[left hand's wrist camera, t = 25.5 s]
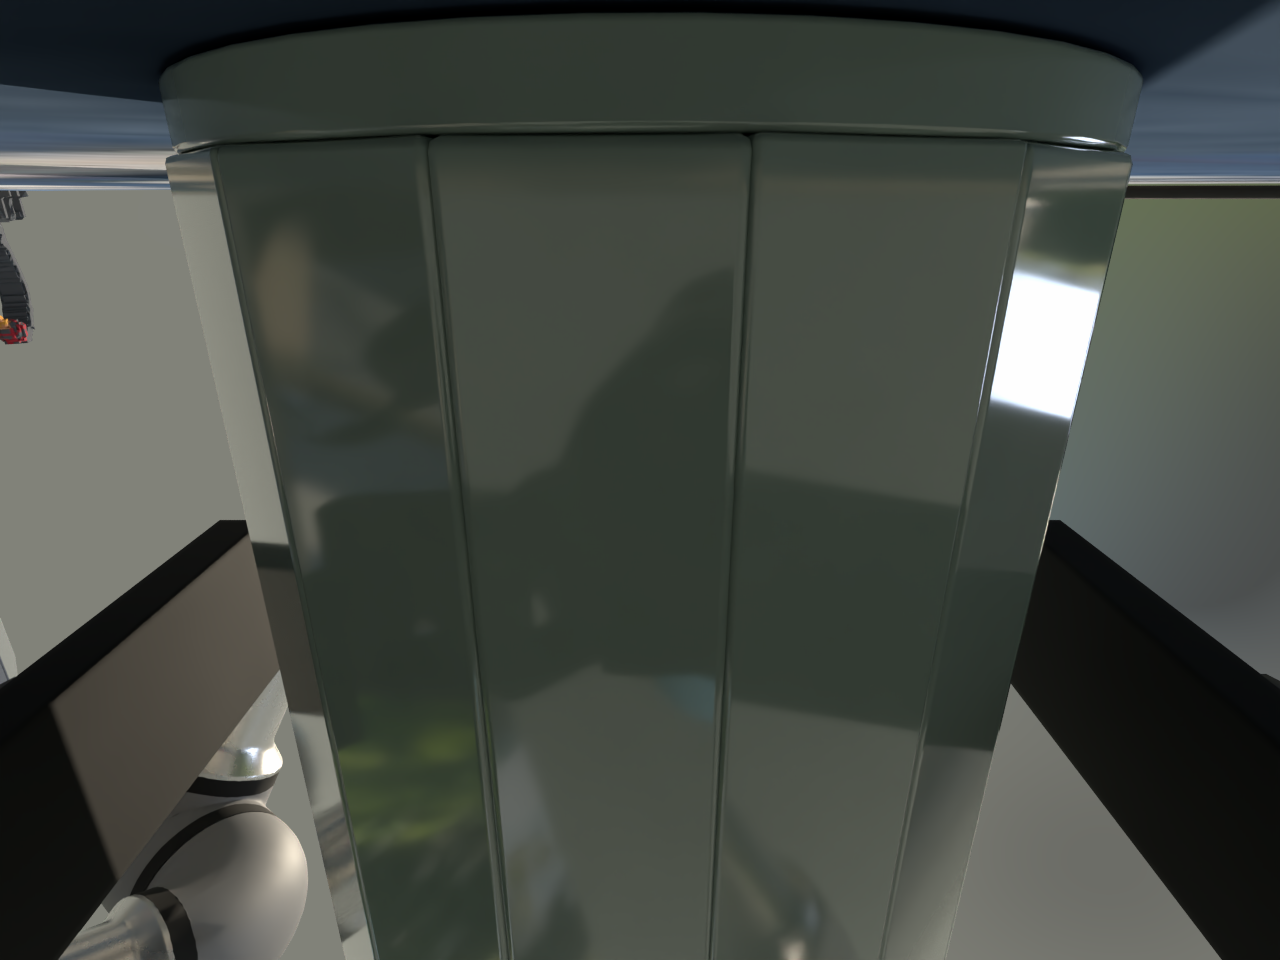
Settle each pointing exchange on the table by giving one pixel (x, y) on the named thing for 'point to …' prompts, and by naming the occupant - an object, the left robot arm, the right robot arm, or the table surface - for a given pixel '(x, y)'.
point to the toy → (13, 279)
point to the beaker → (648, 453)
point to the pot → (6, 657)
